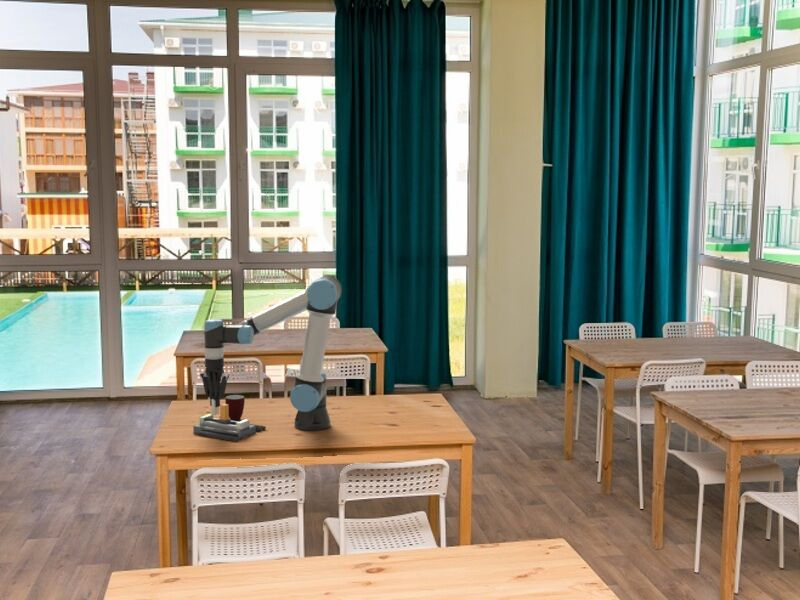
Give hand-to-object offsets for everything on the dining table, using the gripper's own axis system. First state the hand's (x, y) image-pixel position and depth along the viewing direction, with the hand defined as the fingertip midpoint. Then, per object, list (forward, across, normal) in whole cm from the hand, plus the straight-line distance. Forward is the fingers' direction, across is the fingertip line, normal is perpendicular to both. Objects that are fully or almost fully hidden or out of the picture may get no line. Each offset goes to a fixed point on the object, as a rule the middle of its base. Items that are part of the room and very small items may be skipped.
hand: (215, 414), depth 358 cm
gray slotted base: (+7, -5, 0) cm, 9 cm away
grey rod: (+7, -5, -9) cm, 12 cm away
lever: (+4, -5, 0) cm, 6 cm away
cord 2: (+7, -5, -11) cm, 14 cm away
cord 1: (+7, -7, +7) cm, 12 cm away
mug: (+8, +4, -18) cm, 20 cm away
